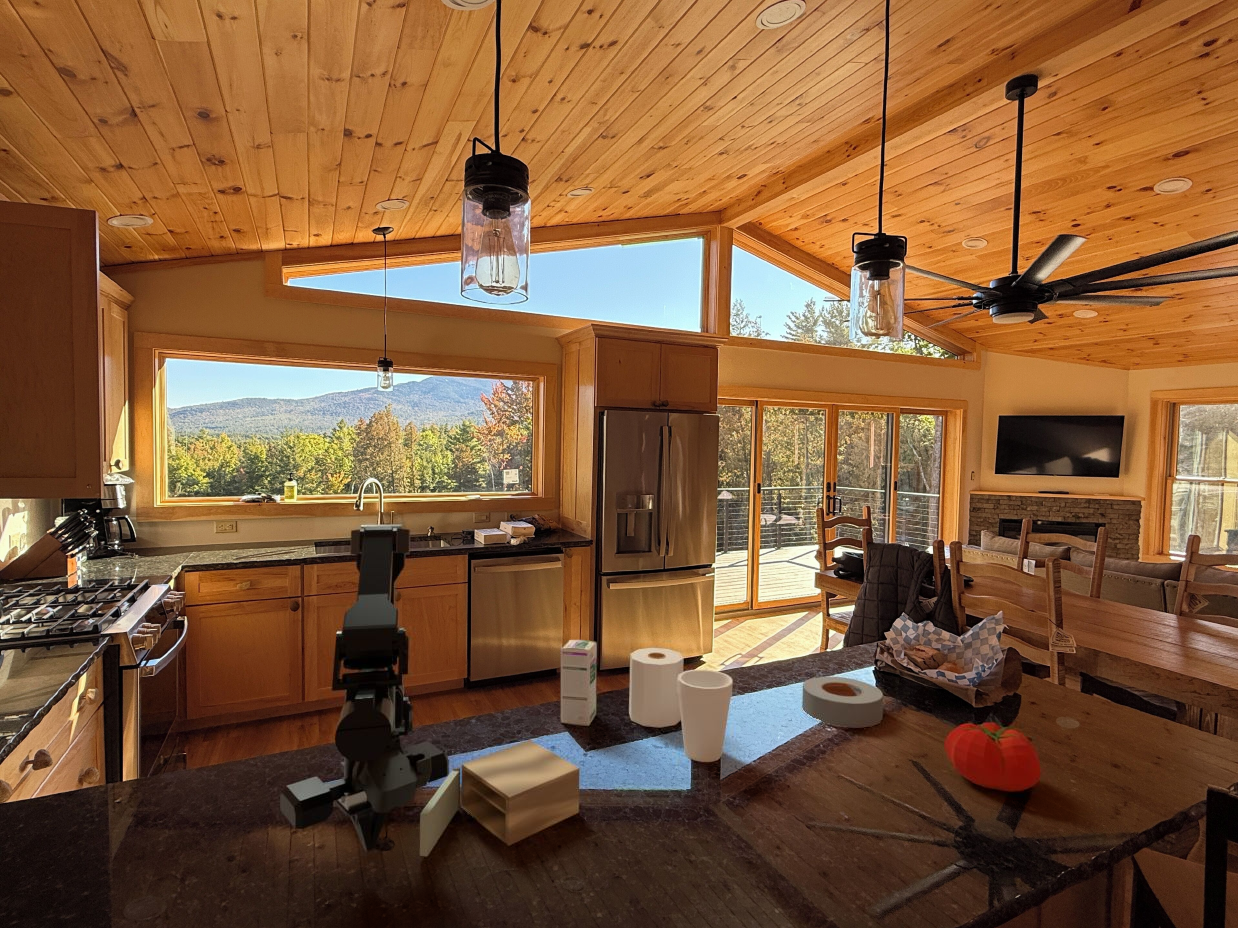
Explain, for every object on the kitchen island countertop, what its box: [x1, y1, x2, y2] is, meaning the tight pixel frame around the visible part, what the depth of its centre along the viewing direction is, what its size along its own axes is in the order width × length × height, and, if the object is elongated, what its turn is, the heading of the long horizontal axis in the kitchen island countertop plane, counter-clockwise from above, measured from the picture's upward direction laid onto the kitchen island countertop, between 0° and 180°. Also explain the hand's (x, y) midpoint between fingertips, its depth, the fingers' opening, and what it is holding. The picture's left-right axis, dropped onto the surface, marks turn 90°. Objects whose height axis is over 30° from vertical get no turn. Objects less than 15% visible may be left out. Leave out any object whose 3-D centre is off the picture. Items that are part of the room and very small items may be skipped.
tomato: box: [944, 722, 1042, 793], centre depth 108 cm, size 14×13×9 cm
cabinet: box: [460, 739, 580, 847], centre depth 97 cm, size 12×12×6 cm
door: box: [419, 766, 461, 857], centre depth 91 cm, size 12×1×6 cm, turn 174°
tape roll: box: [801, 676, 884, 727], centre depth 135 cm, size 15×15×5 cm
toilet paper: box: [628, 647, 684, 729], centre depth 131 cm, size 10×10×12 cm
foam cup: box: [677, 669, 733, 763], centre depth 116 cm, size 10×9×13 cm
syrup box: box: [560, 639, 598, 727], centre depth 129 cm, size 6×6×14 cm
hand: (368, 849), depth 82 cm, fingers closed
